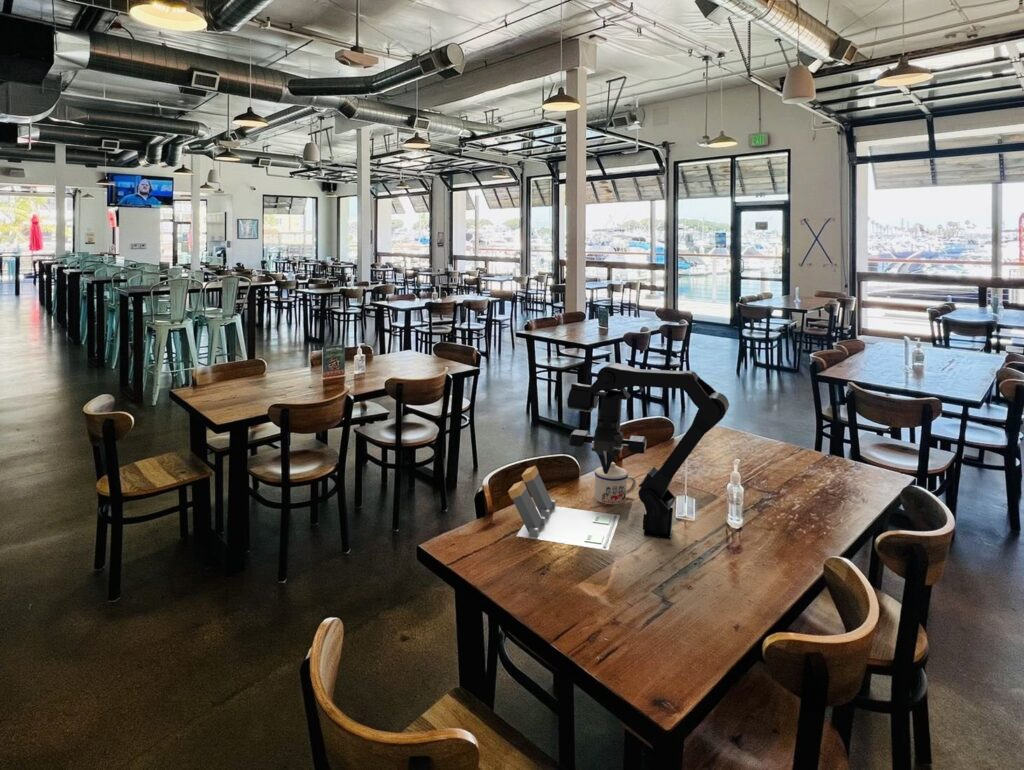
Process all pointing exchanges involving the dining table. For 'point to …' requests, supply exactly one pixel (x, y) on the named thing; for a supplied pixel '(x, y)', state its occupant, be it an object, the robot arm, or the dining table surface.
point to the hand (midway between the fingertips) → (605, 473)
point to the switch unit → (574, 527)
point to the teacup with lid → (612, 485)
